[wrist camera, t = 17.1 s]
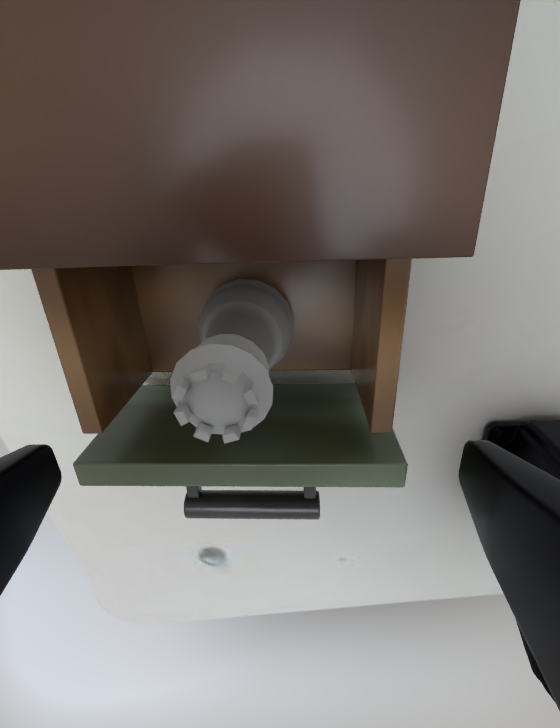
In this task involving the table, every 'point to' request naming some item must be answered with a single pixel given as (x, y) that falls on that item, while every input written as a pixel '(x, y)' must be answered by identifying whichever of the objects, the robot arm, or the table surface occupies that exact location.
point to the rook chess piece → (232, 360)
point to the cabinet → (246, 129)
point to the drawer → (290, 401)
